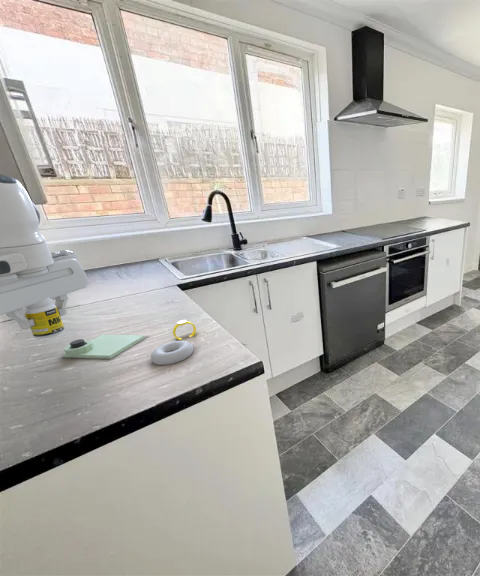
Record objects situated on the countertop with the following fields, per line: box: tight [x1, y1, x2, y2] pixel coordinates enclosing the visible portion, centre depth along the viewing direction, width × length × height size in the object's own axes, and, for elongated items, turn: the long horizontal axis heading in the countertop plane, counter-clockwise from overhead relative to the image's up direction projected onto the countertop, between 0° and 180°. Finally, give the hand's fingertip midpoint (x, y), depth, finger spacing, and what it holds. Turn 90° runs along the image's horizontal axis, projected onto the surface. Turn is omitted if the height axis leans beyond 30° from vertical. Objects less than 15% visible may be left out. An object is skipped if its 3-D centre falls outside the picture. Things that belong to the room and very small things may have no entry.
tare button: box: [69, 338, 86, 349], centre depth 88 cm, size 3×3×2 cm
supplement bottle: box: [23, 297, 66, 340], centre depth 66 cm, size 5×5×8 cm
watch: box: [172, 319, 197, 341], centre depth 96 cm, size 6×3×6 cm, turn 136°
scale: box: [63, 334, 146, 360], centre depth 92 cm, size 14×12×3 cm
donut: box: [150, 340, 194, 366], centre depth 86 cm, size 10×4×10 cm
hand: (45, 321), depth 66 cm, fingers closed on supplement bottle, 5 cm apart
